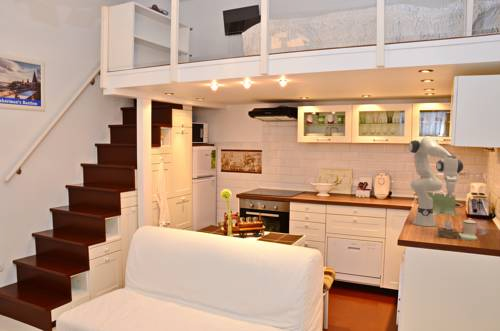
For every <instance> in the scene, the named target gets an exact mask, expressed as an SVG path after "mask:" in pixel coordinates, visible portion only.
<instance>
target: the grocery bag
mask: <svg viewBox="0 0 500 331" xmlns="http://www.w3.org/2000/svg"><path fill="white" fill-rule="evenodd" d="M438 192H441V193H438ZM438 192H437V191H434V192H431V191H427V194H428V196H430V197H431V198H432V199H433V213H434V215H440V214H444V216H454V215H456V216H457V212H456V211H457V210H456V195H454V194H452V198H449V196H448V193H446V192H445V191H443V190H442V189H441V190H439V191H438Z"/></svg>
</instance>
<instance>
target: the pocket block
mask: <svg viewBox="0 0 500 331" xmlns="http://www.w3.org/2000/svg"><path fill="white" fill-rule="evenodd" d="M437 235H438V237H439V238H444V239H452V240H458V239H459V231H458V229H457V228H452V227H451V231H449V230H445V227H442V226H441V227H440V226H437Z"/></svg>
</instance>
